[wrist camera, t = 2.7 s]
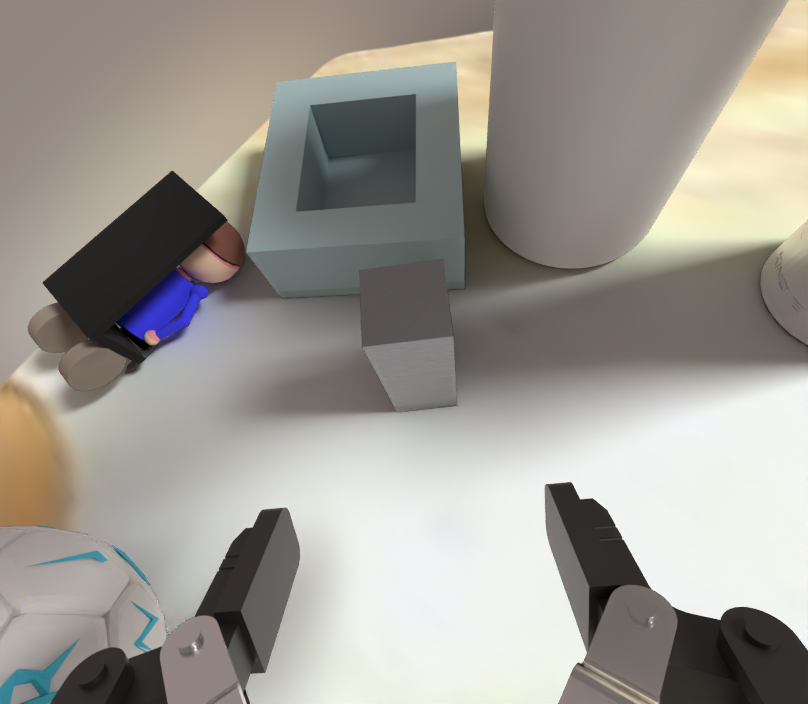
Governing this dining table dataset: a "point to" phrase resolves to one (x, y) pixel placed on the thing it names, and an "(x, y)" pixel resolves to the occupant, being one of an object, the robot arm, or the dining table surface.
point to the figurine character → (135, 283)
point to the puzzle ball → (66, 608)
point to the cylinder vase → (604, 114)
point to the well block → (359, 180)
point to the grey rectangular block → (409, 333)
